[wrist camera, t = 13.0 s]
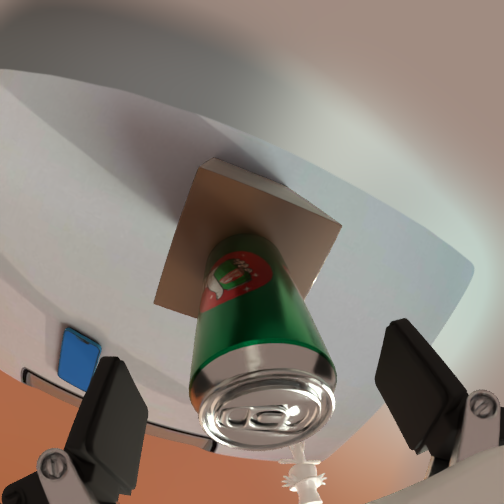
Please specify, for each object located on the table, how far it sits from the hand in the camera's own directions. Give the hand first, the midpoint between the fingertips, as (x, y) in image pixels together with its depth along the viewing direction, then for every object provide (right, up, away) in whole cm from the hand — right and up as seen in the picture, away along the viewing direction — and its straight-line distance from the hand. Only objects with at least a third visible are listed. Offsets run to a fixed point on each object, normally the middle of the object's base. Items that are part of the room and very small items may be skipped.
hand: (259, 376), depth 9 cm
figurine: (+10, -39, +46) cm, 61 cm away
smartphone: (-32, -16, +33) cm, 49 cm away
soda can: (-1, +3, +10) cm, 11 cm away
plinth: (-2, +10, +27) cm, 28 cm away
